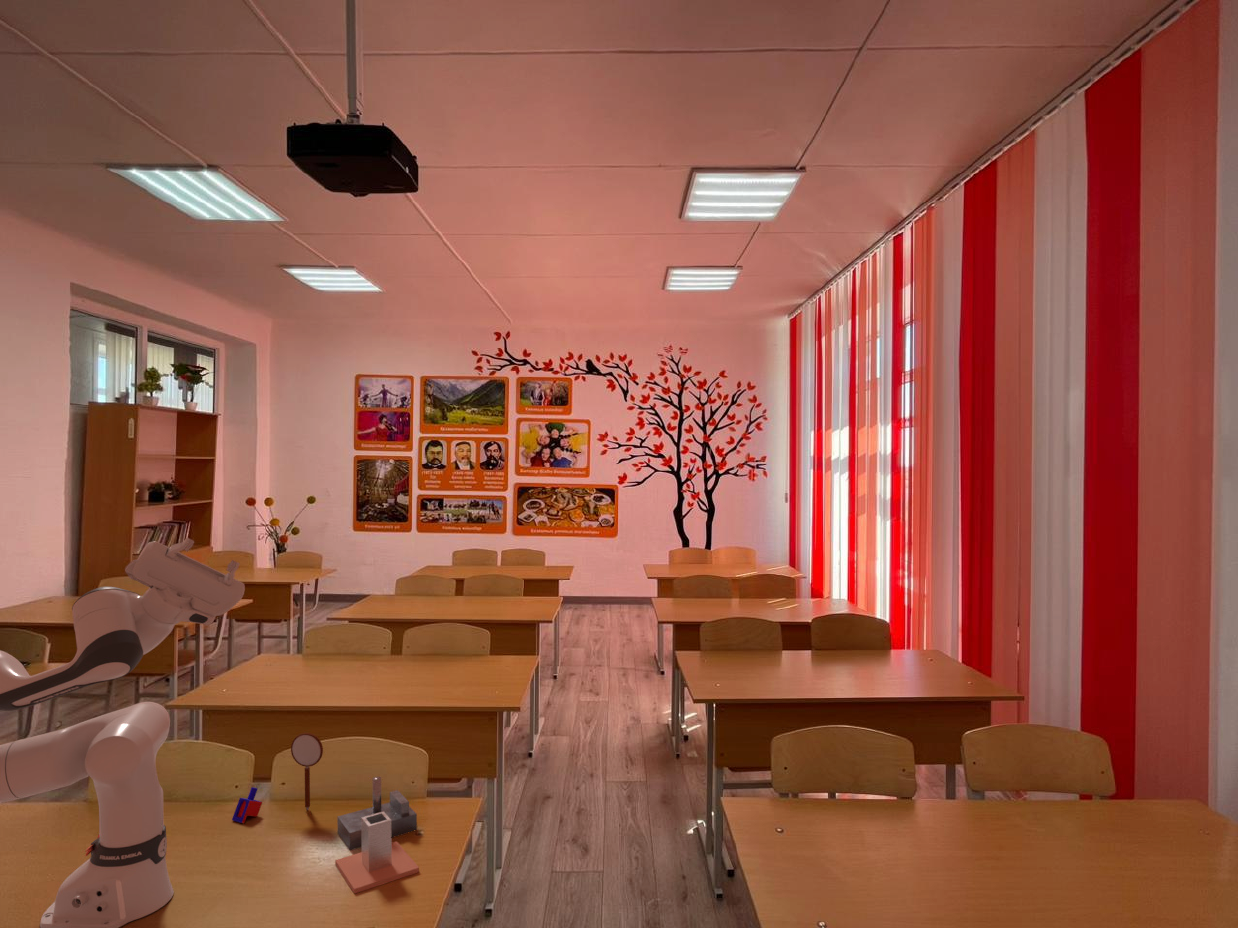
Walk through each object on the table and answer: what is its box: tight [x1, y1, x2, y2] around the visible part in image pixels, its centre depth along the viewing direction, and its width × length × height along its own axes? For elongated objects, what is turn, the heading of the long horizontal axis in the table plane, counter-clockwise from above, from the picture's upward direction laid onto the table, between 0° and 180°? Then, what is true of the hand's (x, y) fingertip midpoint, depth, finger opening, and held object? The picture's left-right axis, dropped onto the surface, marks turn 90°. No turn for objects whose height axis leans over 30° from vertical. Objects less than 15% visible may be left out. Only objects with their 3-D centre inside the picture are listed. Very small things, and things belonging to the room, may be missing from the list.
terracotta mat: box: [334, 841, 420, 895], centre depth 169 cm, size 14×14×1 cm
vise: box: [337, 776, 418, 851], centre depth 185 cm, size 16×10×13 cm, turn 126°
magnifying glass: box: [290, 732, 324, 811], centre depth 197 cm, size 9×2×20 cm, turn 81°
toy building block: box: [231, 786, 263, 824], centre depth 194 cm, size 4×4×8 cm
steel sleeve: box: [361, 811, 393, 872], centre depth 169 cm, size 5×5×10 cm
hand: (213, 552), depth 150 cm, fingers open, 8 cm apart
